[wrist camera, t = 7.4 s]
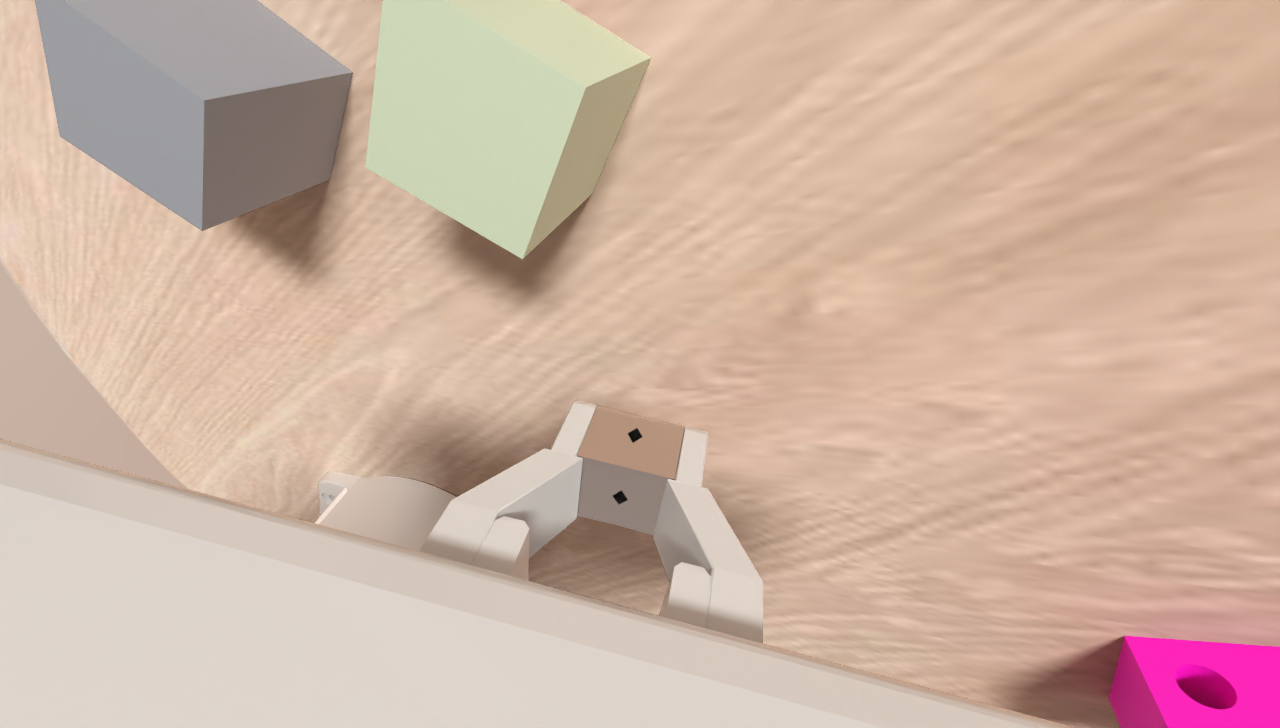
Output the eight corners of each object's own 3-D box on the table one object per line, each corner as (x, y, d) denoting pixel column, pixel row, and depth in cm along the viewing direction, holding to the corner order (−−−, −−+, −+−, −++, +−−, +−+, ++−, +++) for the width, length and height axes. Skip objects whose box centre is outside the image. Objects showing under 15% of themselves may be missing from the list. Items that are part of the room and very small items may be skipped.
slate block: (330, 179, 22) (202, 230, 18) (224, 103, 21) (60, 136, 17) (353, 72, 19) (204, 100, 14) (229, -22, 18) (31, -23, 14)
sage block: (592, 193, 19) (522, 259, 15) (475, 122, 19) (365, 167, 14) (651, 57, 16) (585, 87, 12) (512, -31, 16) (386, -36, 11)
